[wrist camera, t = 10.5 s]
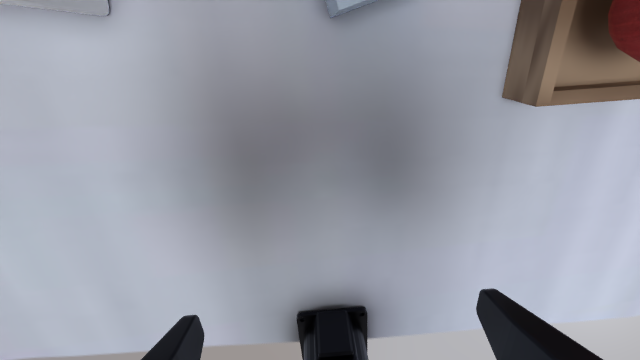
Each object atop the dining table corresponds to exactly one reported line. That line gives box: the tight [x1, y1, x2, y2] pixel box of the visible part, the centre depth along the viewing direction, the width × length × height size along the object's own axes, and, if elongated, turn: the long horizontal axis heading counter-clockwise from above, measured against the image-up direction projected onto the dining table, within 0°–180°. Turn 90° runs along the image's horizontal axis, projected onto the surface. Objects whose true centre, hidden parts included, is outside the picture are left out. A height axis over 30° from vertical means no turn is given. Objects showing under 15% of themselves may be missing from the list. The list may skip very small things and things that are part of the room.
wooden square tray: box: [502, 0, 640, 107], centre depth 17 cm, size 9×9×4 cm
